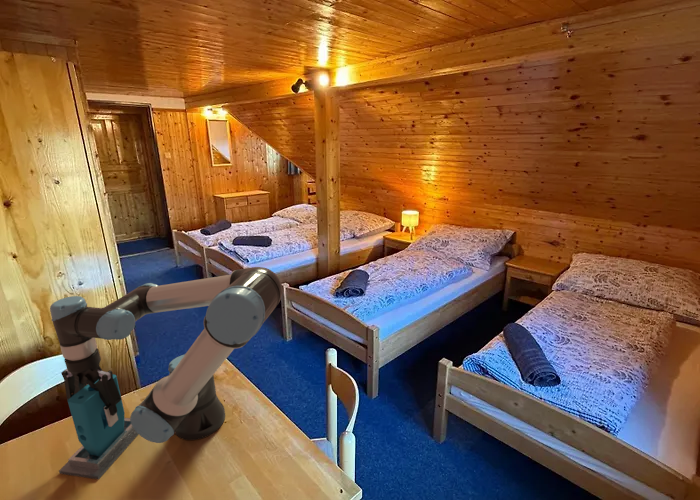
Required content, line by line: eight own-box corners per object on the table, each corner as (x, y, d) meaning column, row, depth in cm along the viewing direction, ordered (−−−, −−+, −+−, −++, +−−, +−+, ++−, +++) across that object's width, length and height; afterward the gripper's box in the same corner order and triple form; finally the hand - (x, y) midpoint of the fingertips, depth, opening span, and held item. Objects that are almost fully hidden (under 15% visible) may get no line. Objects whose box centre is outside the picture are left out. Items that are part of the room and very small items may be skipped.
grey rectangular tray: (148, 422, 117) (146, 415, 117) (98, 479, 99) (96, 470, 98) (114, 418, 119) (112, 411, 118) (59, 473, 101) (56, 465, 100)
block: (97, 462, 103) (81, 404, 96) (81, 458, 104) (65, 401, 97) (129, 429, 114) (118, 375, 107) (115, 426, 115) (103, 372, 108)
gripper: (125, 348, 101) (141, 415, 108) (60, 342, 104) (80, 408, 111) (104, 364, 94) (123, 435, 101) (34, 357, 97) (57, 427, 104)
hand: (100, 421), depth 106 cm, fingers open, 8 cm apart
